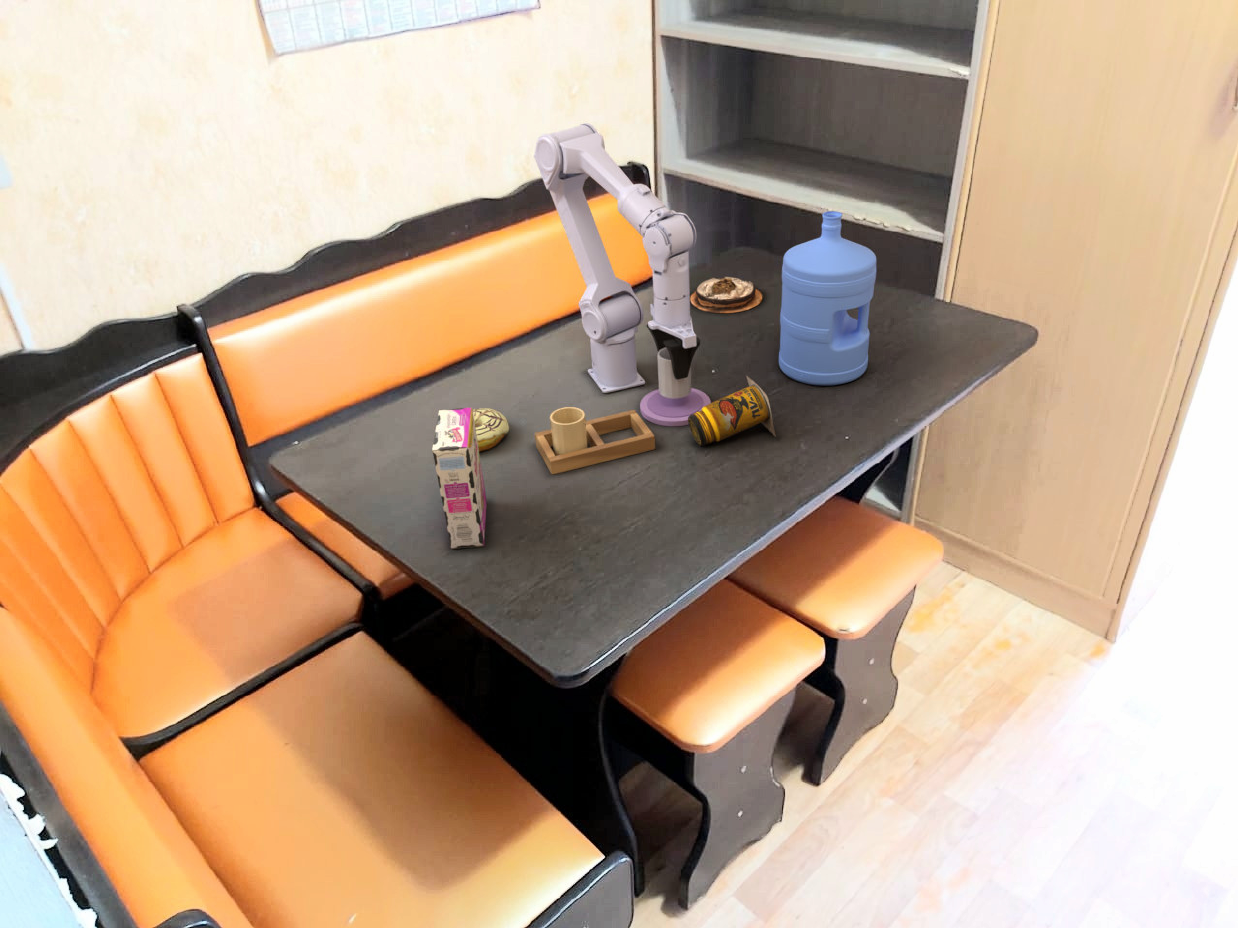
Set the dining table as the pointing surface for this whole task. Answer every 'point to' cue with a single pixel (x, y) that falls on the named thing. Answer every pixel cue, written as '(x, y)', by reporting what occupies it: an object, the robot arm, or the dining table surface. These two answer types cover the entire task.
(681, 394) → the steel cup
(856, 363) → the water jug
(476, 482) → the candy bar box
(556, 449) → the beige cup
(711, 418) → the condiment
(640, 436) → the cup rack
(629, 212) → the robot arm
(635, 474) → the dining table surface
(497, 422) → the decorated donut
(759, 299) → the cake on plate
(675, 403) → the lavender plate
